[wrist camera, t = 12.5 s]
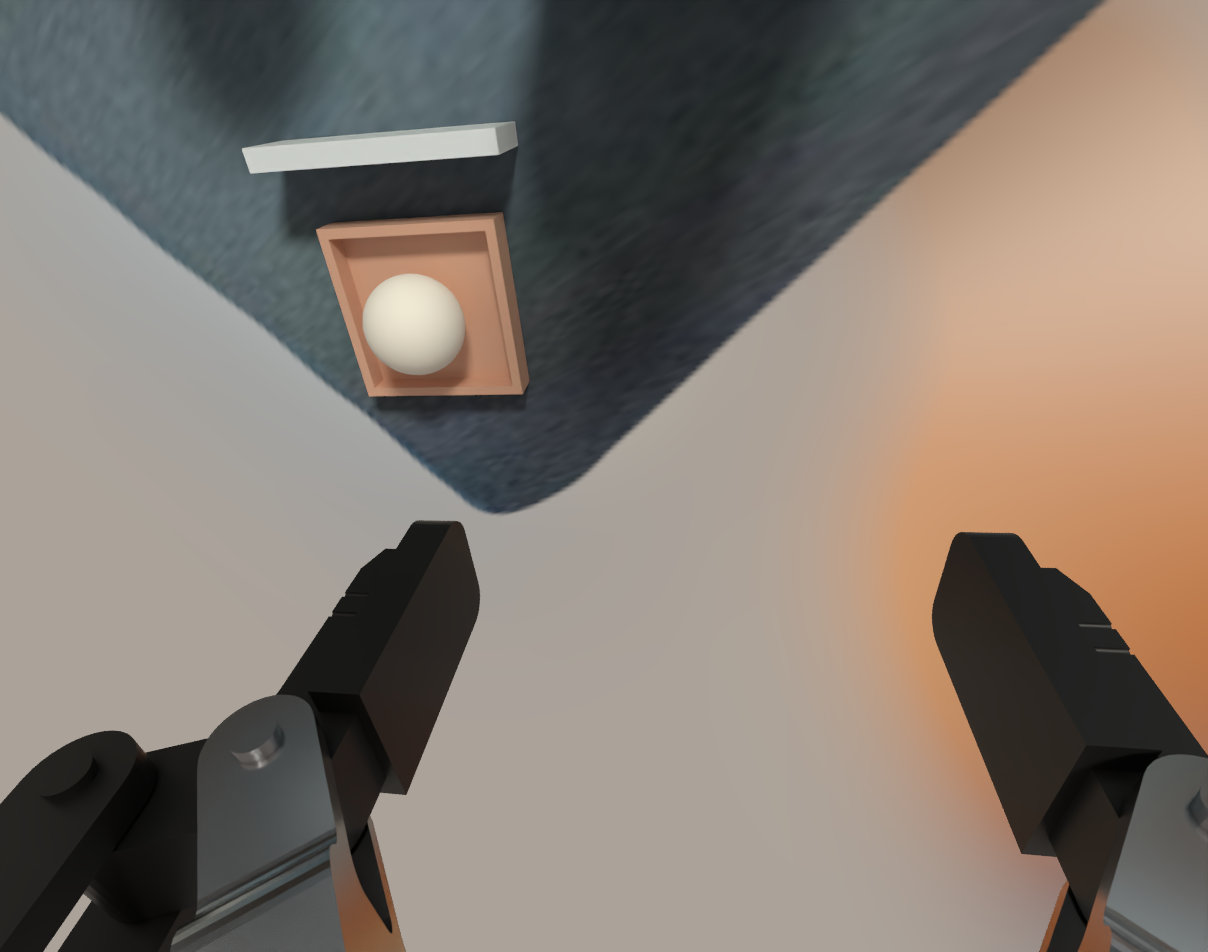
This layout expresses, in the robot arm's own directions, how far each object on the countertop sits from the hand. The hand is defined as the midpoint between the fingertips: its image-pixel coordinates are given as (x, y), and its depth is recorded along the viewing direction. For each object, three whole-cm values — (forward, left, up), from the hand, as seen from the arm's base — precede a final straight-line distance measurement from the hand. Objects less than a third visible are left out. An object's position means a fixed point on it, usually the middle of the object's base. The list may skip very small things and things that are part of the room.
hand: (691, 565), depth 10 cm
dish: (+5, -17, -30) cm, 35 cm away
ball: (+5, -17, -30) cm, 34 cm away
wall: (-4, -17, -30) cm, 35 cm away
